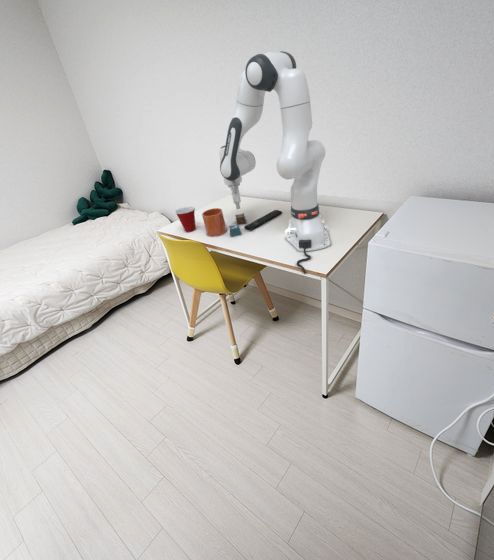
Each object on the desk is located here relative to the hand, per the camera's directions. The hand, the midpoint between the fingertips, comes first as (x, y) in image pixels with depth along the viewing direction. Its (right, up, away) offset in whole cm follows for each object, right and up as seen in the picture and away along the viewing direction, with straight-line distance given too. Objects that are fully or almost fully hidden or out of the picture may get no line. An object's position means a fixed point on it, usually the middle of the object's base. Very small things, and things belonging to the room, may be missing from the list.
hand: (237, 205), depth 161 cm
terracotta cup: (-11, -14, 0) cm, 18 cm away
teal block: (-1, -16, -6) cm, 17 cm away
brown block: (+2, -8, +5) cm, 10 cm away
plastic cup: (-26, -11, +9) cm, 30 cm away
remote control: (+14, -8, +2) cm, 16 cm away
